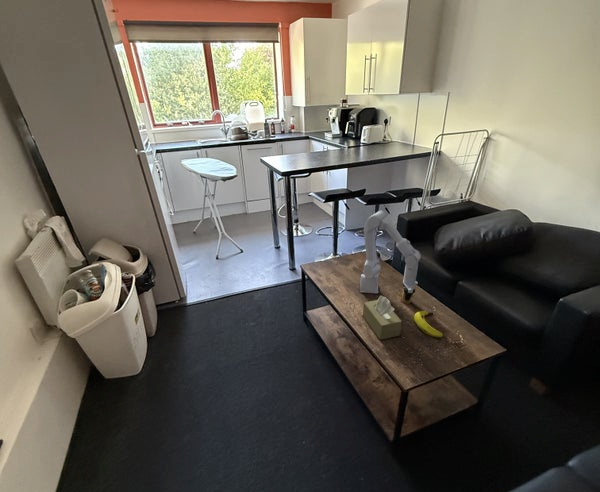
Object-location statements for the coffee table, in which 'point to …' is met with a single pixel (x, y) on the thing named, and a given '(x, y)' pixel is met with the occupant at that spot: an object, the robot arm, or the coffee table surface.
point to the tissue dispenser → (382, 318)
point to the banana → (426, 324)
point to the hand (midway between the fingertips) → (406, 297)
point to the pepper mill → (404, 298)
